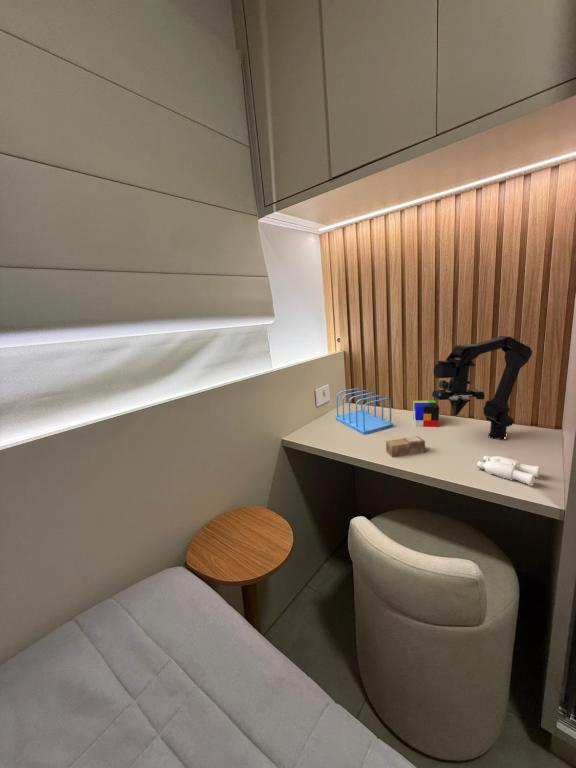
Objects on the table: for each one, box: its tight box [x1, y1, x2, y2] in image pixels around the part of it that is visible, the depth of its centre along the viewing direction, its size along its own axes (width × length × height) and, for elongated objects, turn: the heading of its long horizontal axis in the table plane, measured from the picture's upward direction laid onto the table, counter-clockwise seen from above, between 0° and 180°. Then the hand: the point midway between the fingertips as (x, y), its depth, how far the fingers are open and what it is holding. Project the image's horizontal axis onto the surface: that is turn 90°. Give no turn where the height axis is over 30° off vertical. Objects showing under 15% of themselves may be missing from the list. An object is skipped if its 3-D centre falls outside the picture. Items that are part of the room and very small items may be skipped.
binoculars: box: [476, 455, 541, 487], centre depth 108 cm, size 10×16×5 cm, turn 41°
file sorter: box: [335, 387, 394, 436], centre depth 161 cm, size 25×17×15 cm
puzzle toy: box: [412, 400, 440, 428], centre depth 156 cm, size 10×10×10 cm
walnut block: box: [385, 435, 426, 458], centre depth 129 cm, size 5×5×14 cm
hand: (455, 415), depth 130 cm, fingers closed
